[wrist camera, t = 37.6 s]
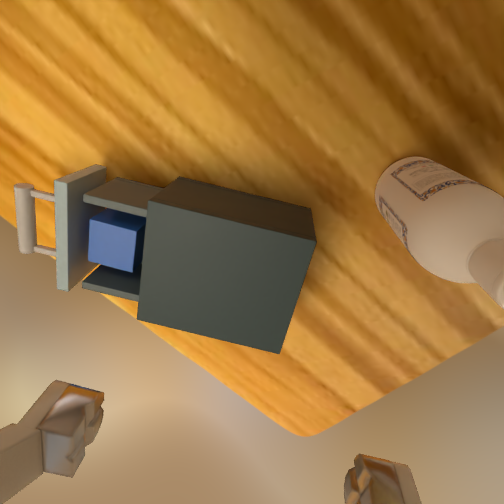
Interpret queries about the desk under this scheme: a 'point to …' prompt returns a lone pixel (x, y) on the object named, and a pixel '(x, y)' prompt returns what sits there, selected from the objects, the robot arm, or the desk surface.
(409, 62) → the desk surface
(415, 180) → the bath foam
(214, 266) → the grey drawer cabinet
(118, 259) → the blue cube
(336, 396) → the desk surface
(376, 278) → the desk surface
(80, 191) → the drawer
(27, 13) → the desk surface
